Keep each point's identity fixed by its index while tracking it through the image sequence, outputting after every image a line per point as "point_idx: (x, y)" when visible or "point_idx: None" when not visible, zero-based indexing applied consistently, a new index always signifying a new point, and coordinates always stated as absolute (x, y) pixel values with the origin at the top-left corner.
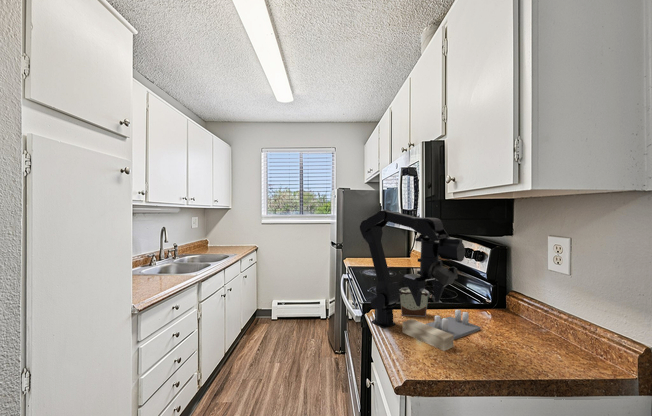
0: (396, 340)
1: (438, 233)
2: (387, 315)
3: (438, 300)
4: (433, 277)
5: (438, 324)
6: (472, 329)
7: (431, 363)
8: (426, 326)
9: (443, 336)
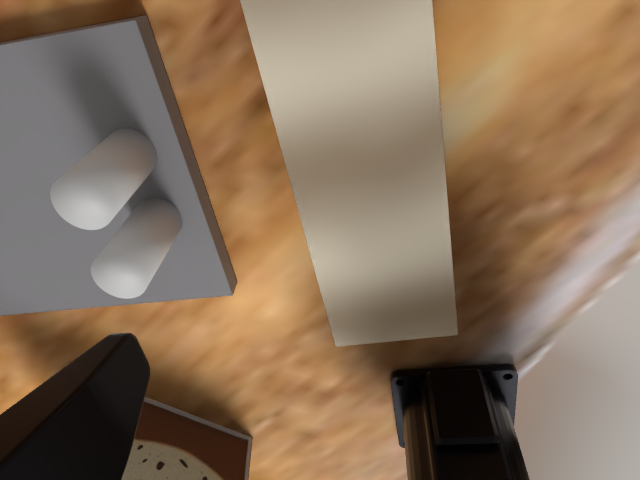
0: (603, 198)
1: None
2: (499, 435)
3: (110, 351)
4: None
5: (152, 219)
6: None
7: None
8: (336, 194)
9: None
